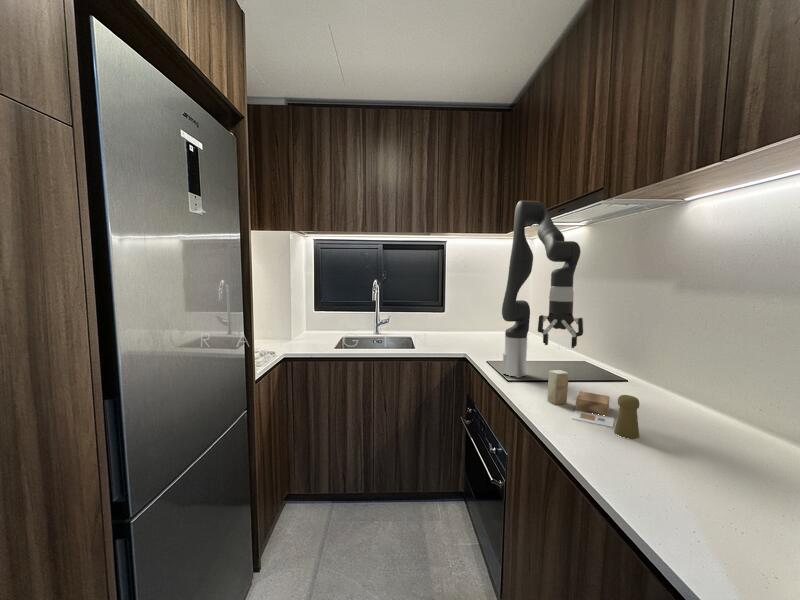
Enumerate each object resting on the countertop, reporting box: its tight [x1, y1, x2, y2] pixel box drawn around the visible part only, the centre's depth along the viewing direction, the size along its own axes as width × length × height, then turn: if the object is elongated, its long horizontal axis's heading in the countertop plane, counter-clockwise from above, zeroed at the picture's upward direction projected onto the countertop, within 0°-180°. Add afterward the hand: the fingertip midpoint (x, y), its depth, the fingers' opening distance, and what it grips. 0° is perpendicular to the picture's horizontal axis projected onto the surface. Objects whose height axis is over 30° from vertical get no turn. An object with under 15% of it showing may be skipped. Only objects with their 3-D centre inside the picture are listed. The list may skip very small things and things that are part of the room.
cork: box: [613, 394, 641, 440], centre depth 101 cm, size 6×6×11 cm
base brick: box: [575, 390, 610, 416], centre depth 120 cm, size 9×9×4 cm
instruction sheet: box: [571, 409, 615, 428], centre depth 112 cm, size 11×8×1 cm
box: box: [546, 369, 569, 406], centre depth 126 cm, size 5×4×11 cm
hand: (559, 346), depth 124 cm, fingers open, 8 cm apart
